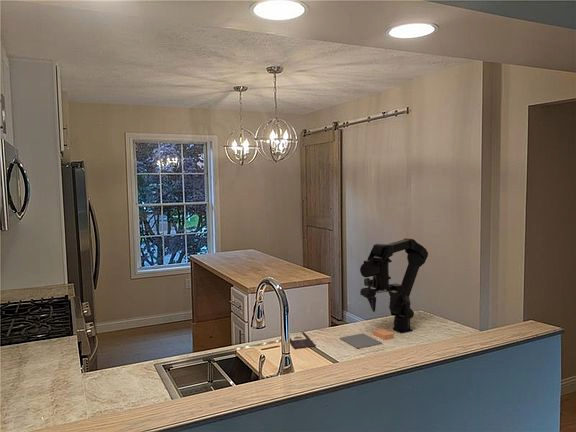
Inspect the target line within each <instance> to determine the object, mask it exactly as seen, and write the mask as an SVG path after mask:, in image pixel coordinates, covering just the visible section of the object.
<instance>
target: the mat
mask: <svg viewBox="0 0 576 432" xmlns="http://www.w3.org/2000/svg"><path fill="white" fill-rule="evenodd" d="M338 339H340V340H341V341H343V342H345V343H346V344H348V345H350V346H351V347H354V348H355V349H356V350H358V349H364V348H369V347H374V346H378V344H379V345H382V343H383V342H382V341H380V340H378V339H376V338H373V337H372V336H369V335H368V334H366V333H364V332H363V333H358V334H352V335H346V336H342V337H339V338H338ZM373 345H374V346H373Z"/></svg>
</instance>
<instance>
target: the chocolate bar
mask: <svg viewBox="0 0 576 432" xmlns="http://www.w3.org/2000/svg"><path fill="white" fill-rule="evenodd" d="M289 334H290V342H289V344H290V346H291V347H292V348H293V350H297V349H298V350H300V349H310V348H316V347H317V345H316V344H315V343H314V342H313V340H311V338H310V337H309V336H308V335H307V334H306V333H305V331H302V332H294V333H293V332H292V333H291V332H290V333H289Z"/></svg>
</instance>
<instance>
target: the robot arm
mask: <svg viewBox="0 0 576 432" xmlns="http://www.w3.org/2000/svg"><path fill="white" fill-rule="evenodd" d="M401 251H405V252H404V253H406V254H407V255H406V260H407V263H408V264H407V266H406V269H405V272H404V274H403V278H402V281H401V284H399V283H396V282H395V283H390V280H391V279H392V277H391V276H390V274H389V273H390V272H389V271H390V269H389V266H390V265H389V264H390V263H392V259H391V257H392V256H393V255H394V254H396V253H399V252H401ZM428 256H429V251H428V250H427V248H425V247H424V246H423V245H421V244H420V243H419V242H417V241H416V240H415V239H413V238H403V239H400V240H396V241H394V242H389V243H376V244H374V245H373V246H372V249H371V250H370V253H369V255H368V257H367V260H363V263H362V264H361V265H360V268H359V271H360V274H361V276H362V277H363V278H364V279H363V283H364V287H362V288H361V289H360V293H359V294H360V296H363V297H364V298H365V299H367V301H368V304H369V306H370V308H371V311H372V312H373V313H375V312H376V308H377V307H376V306H377V296H376V295H377V294H380V293H388V295H389V301H388V302H389V306H388V308H389V311H390V314H391V316H394V320H393V327H392V330H393V331H395V332H398V333H407V332H414V331H413V328H411V319H413V318H414V317H415V315H414V314H415V312H414V310H412V309H411V299H410V295H411V294H412V293H411V292H412V290H413V286H414V284H415V281H416V278H417V275H418V272H419V269H420V267H422V266H423V265H424V264H426V261H427V259H428ZM370 277H372V279H370Z"/></svg>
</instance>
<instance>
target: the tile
mask: <svg viewBox="0 0 576 432" xmlns="http://www.w3.org/2000/svg"><path fill="white" fill-rule="evenodd" d="M372 336H374V337H376V338H378V337H379V338H378V339H380V338H381V339H380V340H382V339H383V341H384V340H385V341H388V340H394V339H395V333H393V332H392V331H389V330H387V329H384V328H377V329H373V330H372Z"/></svg>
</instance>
